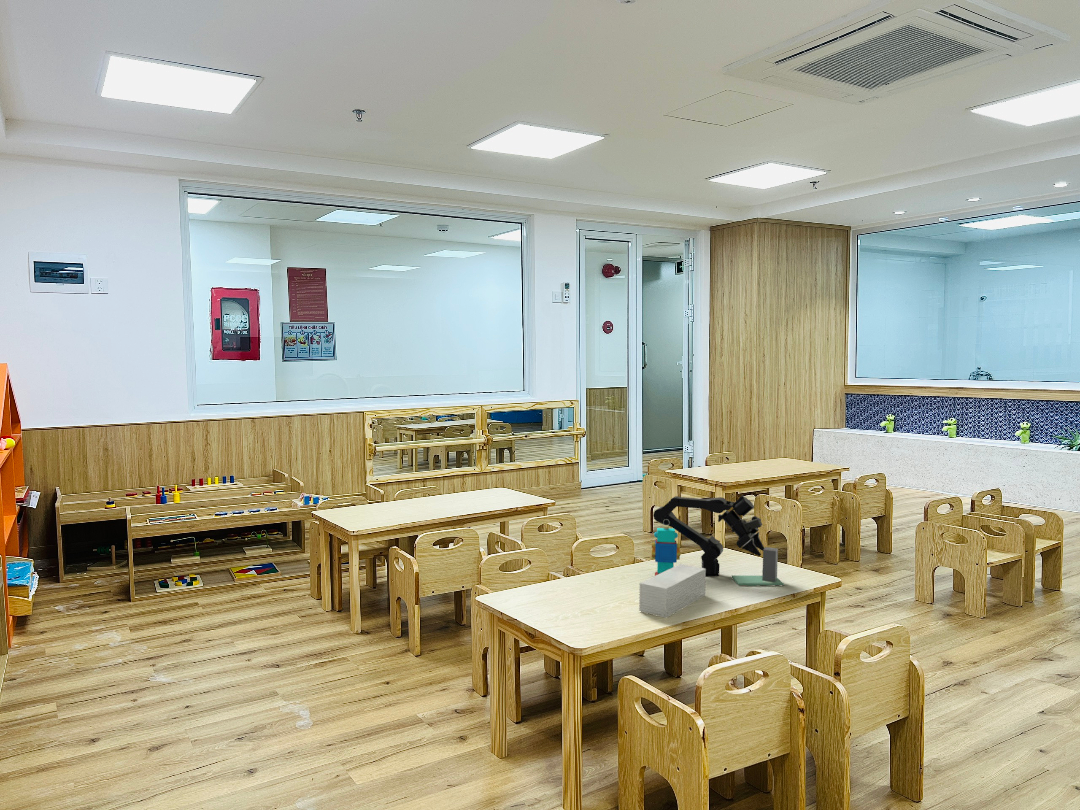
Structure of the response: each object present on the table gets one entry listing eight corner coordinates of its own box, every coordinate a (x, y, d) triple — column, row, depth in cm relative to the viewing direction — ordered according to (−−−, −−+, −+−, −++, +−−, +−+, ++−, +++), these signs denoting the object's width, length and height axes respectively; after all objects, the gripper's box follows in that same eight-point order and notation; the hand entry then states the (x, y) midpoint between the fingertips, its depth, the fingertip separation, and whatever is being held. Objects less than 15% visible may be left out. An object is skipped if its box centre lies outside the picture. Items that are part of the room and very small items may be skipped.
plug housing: (762, 580, 318) (763, 549, 317) (764, 577, 323) (765, 547, 322) (775, 581, 316) (775, 551, 315) (777, 578, 321) (777, 548, 320)
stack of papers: (665, 618, 276) (666, 588, 275) (639, 612, 282) (639, 583, 281) (705, 596, 301) (705, 568, 301) (679, 590, 308) (680, 563, 307)
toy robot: (678, 577, 324) (680, 518, 322) (679, 582, 318) (681, 521, 316) (650, 576, 325) (651, 517, 324) (651, 581, 319) (652, 520, 318)
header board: (738, 585, 314) (738, 577, 314) (731, 577, 325) (731, 569, 325) (783, 586, 314) (783, 577, 314) (775, 578, 325) (775, 569, 325)
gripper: (745, 515, 313) (773, 545, 309) (754, 506, 330) (780, 535, 326) (725, 532, 317) (752, 563, 313) (734, 523, 334) (760, 552, 330)
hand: (762, 552), depth 320 cm, fingers open, 9 cm apart
